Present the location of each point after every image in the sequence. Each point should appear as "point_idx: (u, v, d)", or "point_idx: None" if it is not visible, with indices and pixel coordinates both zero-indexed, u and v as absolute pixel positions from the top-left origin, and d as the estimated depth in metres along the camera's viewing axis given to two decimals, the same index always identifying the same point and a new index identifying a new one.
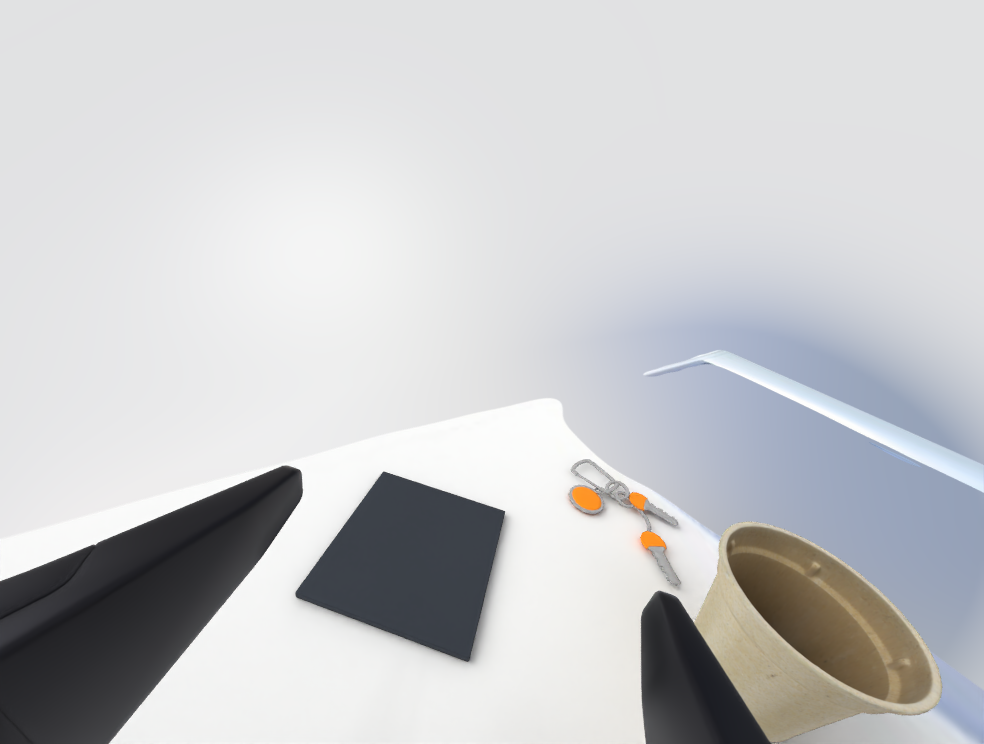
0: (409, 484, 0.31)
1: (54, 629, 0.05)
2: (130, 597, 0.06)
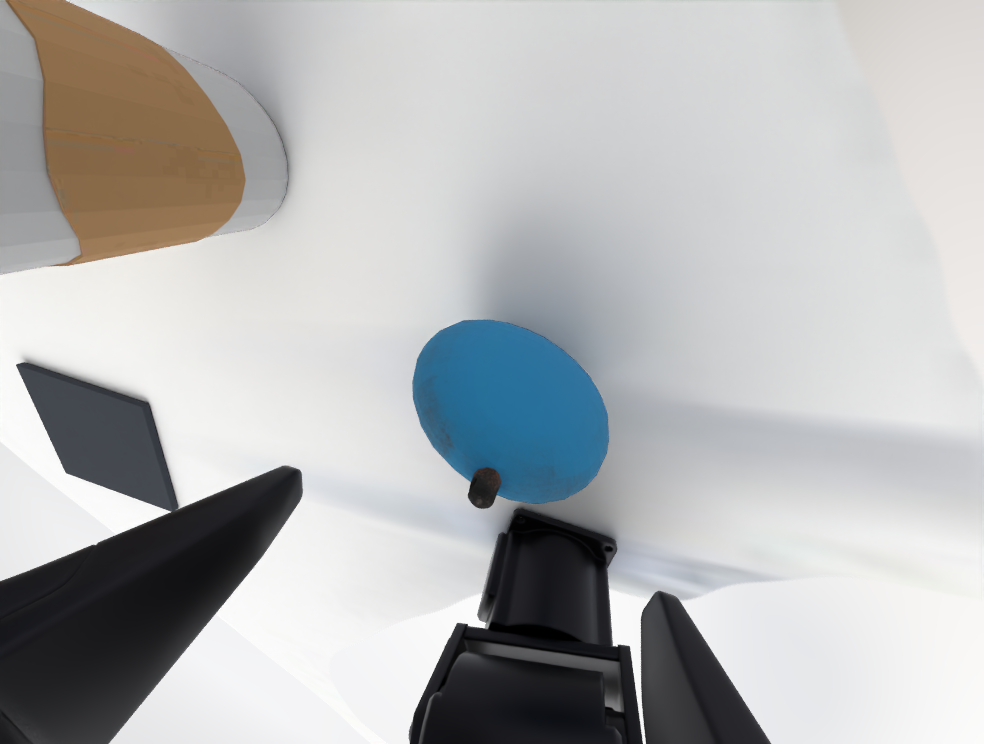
0: (60, 452, 0.31)
1: (54, 629, 0.05)
2: (130, 597, 0.06)
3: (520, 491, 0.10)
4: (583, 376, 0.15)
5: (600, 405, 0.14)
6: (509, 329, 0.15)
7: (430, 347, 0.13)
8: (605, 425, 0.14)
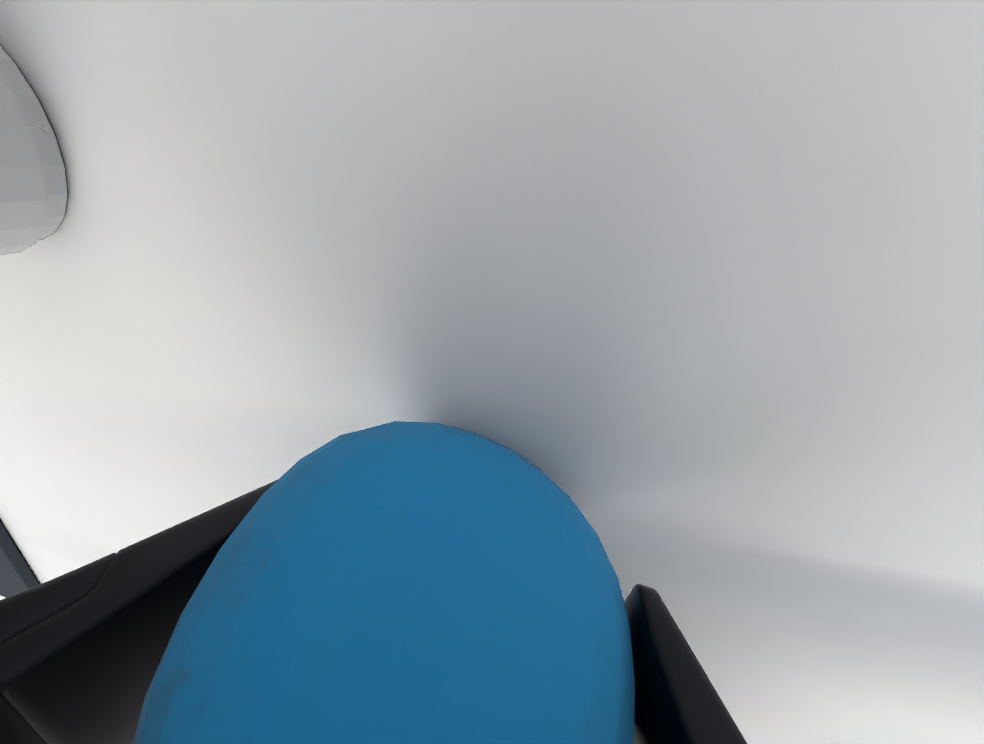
0: None
1: (79, 640, 0.05)
2: (152, 606, 0.06)
3: None
4: (582, 559, 0.07)
5: (617, 630, 0.07)
6: (433, 463, 0.07)
7: (240, 532, 0.06)
8: (629, 685, 0.06)
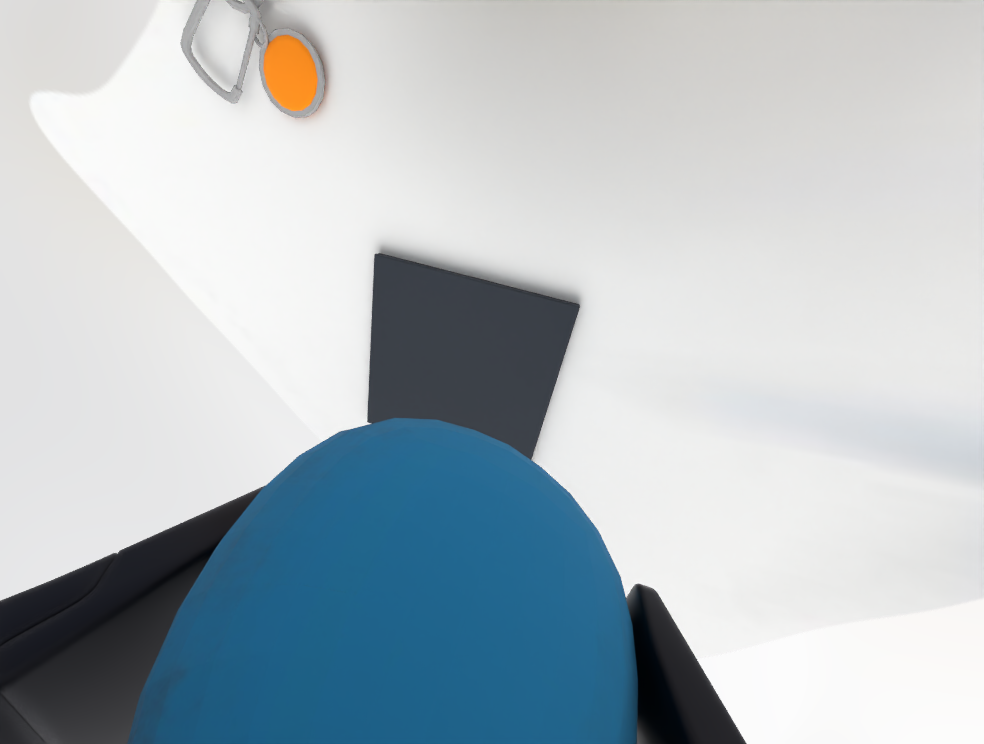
0: (376, 391, 0.23)
1: (80, 640, 0.05)
2: (153, 606, 0.06)
3: None
4: (584, 557, 0.07)
5: (620, 628, 0.07)
6: (432, 459, 0.07)
7: (237, 529, 0.06)
8: (632, 684, 0.06)
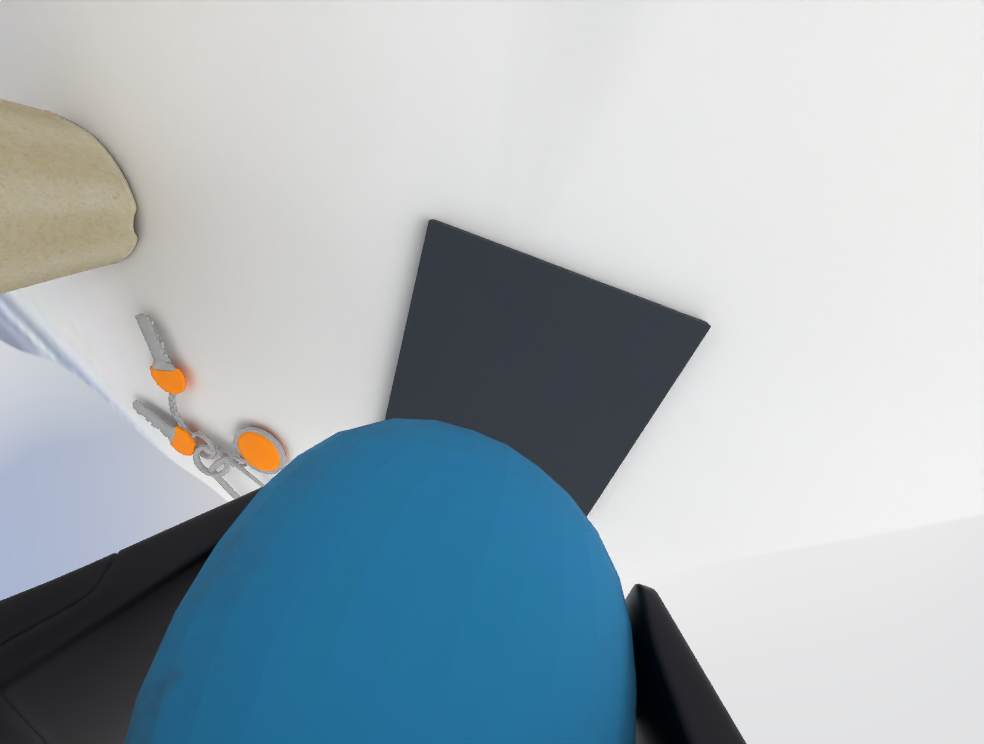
0: None
1: (80, 640, 0.05)
2: (153, 606, 0.06)
3: None
4: (583, 557, 0.07)
5: (619, 629, 0.07)
6: (431, 460, 0.07)
7: (235, 529, 0.06)
8: (631, 685, 0.06)
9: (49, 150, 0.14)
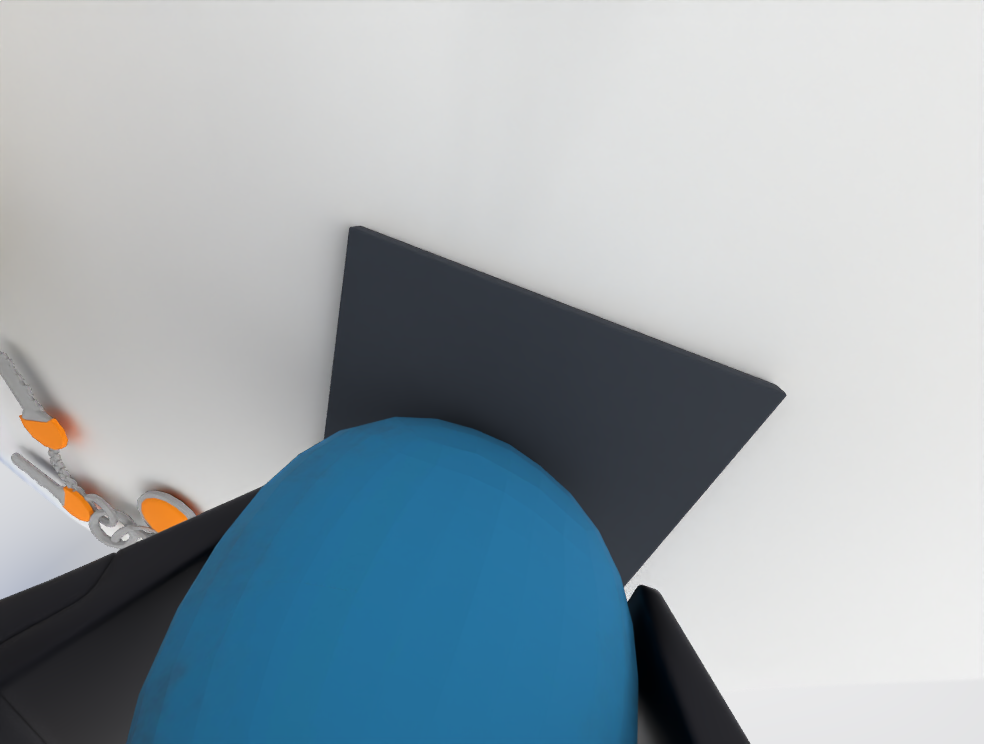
0: None
1: (78, 639, 0.05)
2: (151, 606, 0.06)
3: None
4: (584, 555, 0.07)
5: (621, 627, 0.07)
6: (433, 457, 0.07)
7: (237, 527, 0.06)
8: (633, 683, 0.06)
9: None
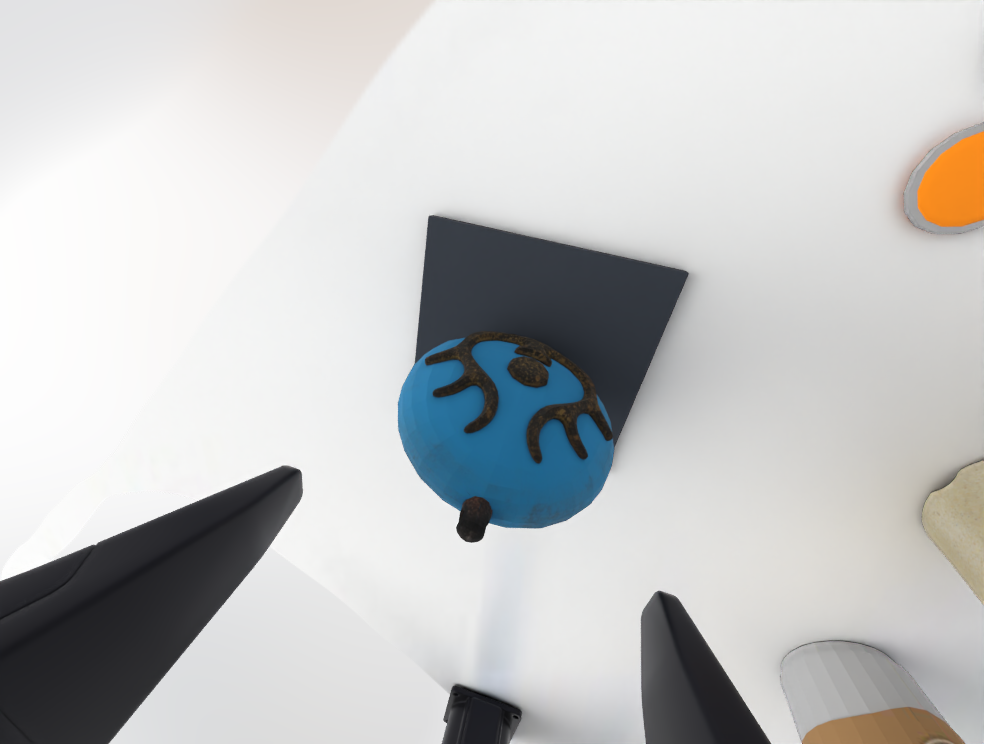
0: (484, 241, 0.16)
1: (54, 629, 0.05)
2: (130, 597, 0.06)
3: (443, 492, 0.10)
4: None
5: None
6: None
7: None
8: None
9: (961, 568, 0.15)
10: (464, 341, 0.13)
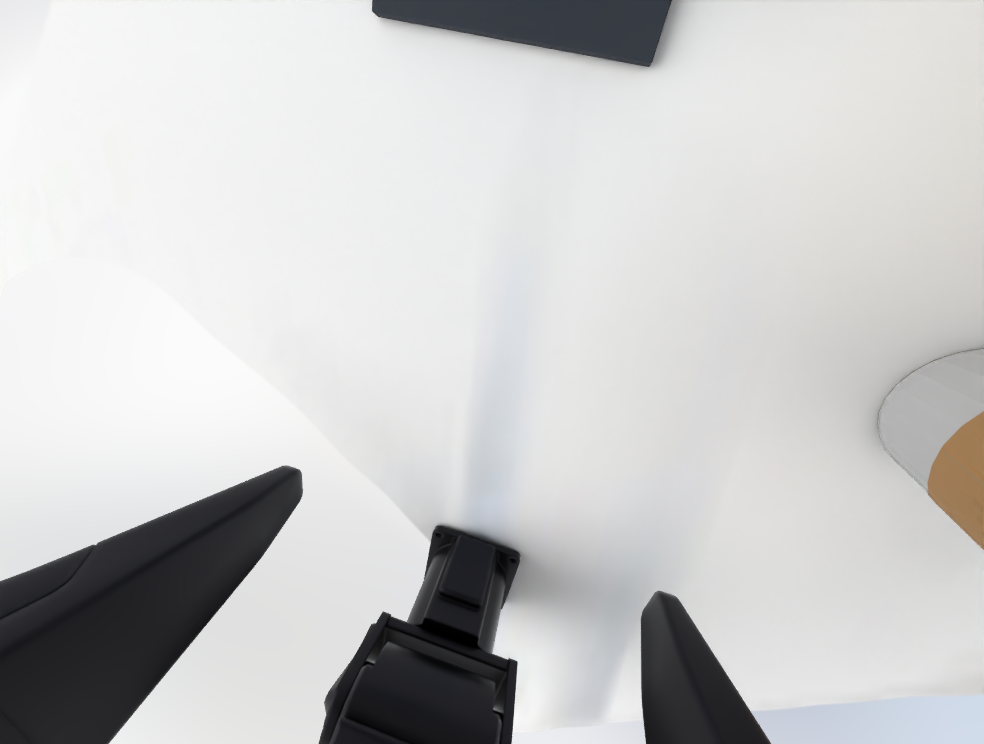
0: None
1: (54, 629, 0.05)
2: (130, 597, 0.06)
3: None
4: None
5: None
6: None
7: None
8: None
9: None
10: None
